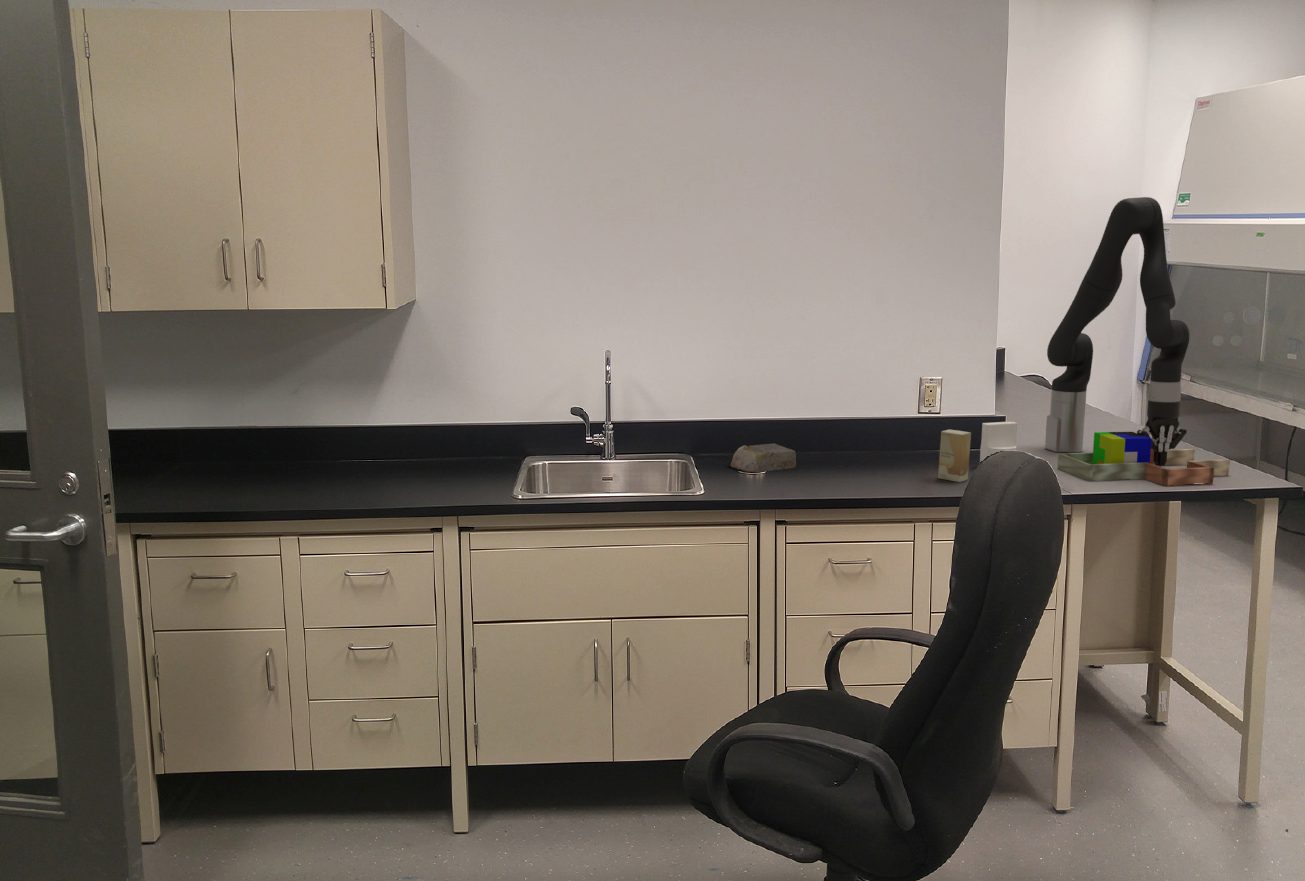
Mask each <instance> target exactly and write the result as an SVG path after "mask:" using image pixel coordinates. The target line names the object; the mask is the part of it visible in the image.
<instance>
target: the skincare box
mask: <svg viewBox="0 0 1305 881" xmlns="http://www.w3.org/2000/svg"><path fill="white" fill-rule="evenodd" d="M971 439H972V432H970V431H969V432H968V431H964V430H963V431H962V430H957V429H955V430H954V429H946V430H942V431H941V432H940V445H939V458H938V459H939V460H938V461H939V462H938V470H937V471H938V474H937V478H938V479H940V480H946V481H952V482H956V483H960V482H964V481H967V480H968V479H969V465H970V452H971V442H972V441H971Z"/></svg>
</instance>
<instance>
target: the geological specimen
mask: <svg viewBox="0 0 1305 881" xmlns="http://www.w3.org/2000/svg"><path fill="white" fill-rule="evenodd" d="M796 459H797V453H796V451H795V450H793V449H791V448H787V447H785V446H782V445H779V444H777V443H765V444H754V445H748V446H747V445H746V444H745V445H742V446H740V447H738V449H737V450H736V451H735V452H734V454H733V456H732V459H731V461H730V462H731V463H730V465H729V466H730V467H731V468H734V469H737V470H740V471H745V472H751V473H755V474H756V473H762V472H763V473H764V472H771V471H780V470H789V469H795V468H796V465H797V460H796Z"/></svg>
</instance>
